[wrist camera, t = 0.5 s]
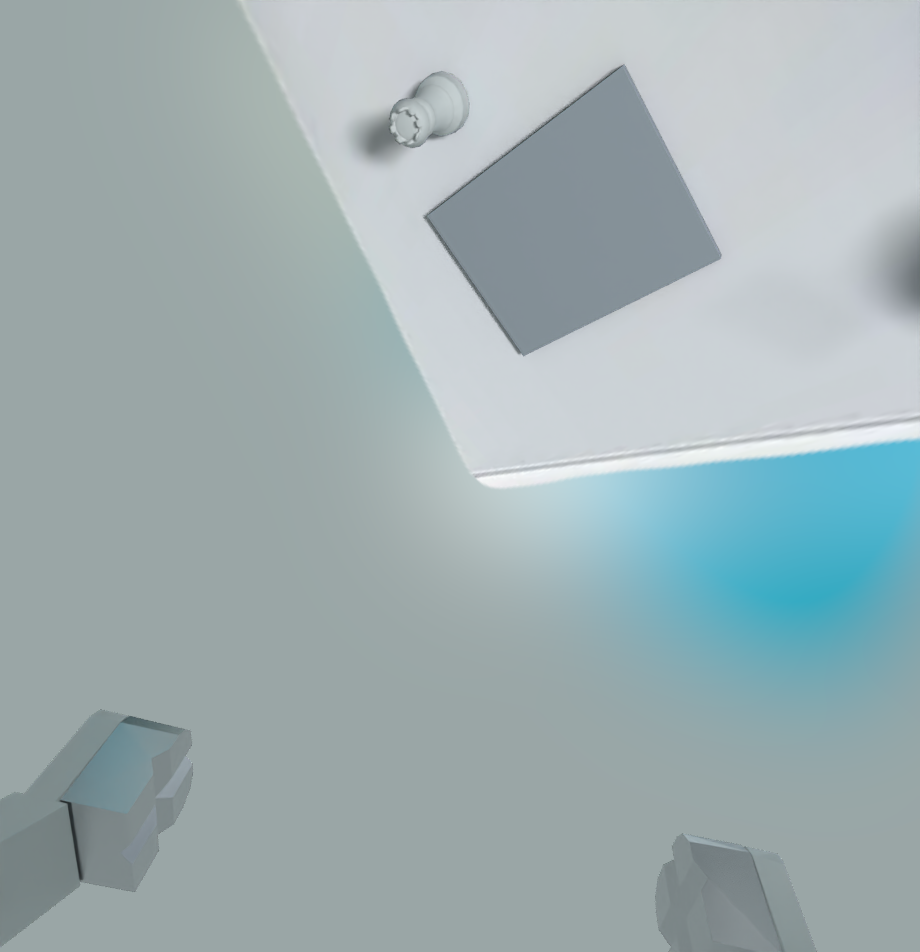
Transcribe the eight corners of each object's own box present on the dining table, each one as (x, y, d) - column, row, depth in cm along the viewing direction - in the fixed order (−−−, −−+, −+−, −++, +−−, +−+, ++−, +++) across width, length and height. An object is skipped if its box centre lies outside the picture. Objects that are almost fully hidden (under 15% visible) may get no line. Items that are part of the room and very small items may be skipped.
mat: (624, 64, 45) (622, 66, 45) (721, 254, 51) (720, 258, 50) (430, 213, 58) (427, 216, 57) (525, 352, 64) (523, 356, 63)
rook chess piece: (470, 69, 49) (429, 91, 44) (473, 133, 52) (434, 161, 47) (418, 70, 51) (372, 91, 45) (423, 131, 54) (381, 159, 48)
